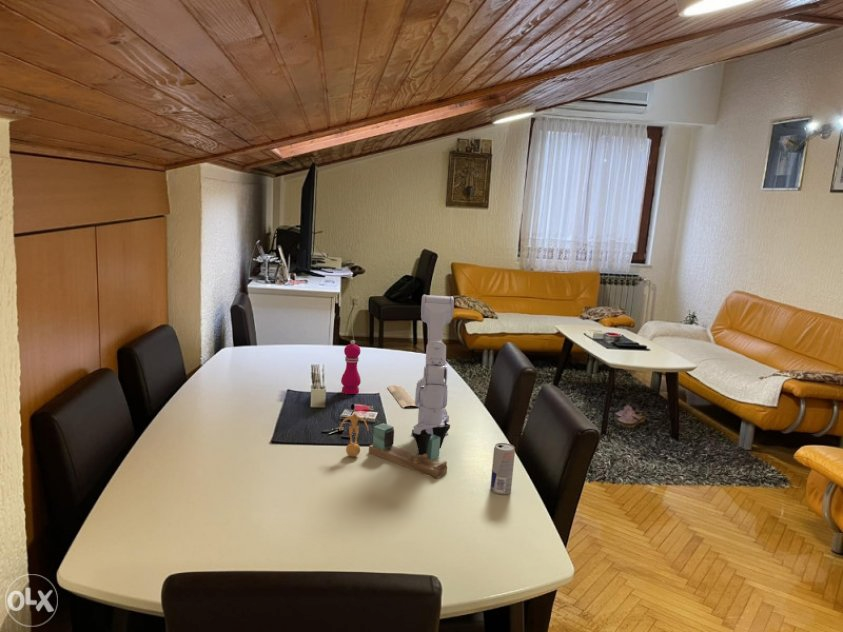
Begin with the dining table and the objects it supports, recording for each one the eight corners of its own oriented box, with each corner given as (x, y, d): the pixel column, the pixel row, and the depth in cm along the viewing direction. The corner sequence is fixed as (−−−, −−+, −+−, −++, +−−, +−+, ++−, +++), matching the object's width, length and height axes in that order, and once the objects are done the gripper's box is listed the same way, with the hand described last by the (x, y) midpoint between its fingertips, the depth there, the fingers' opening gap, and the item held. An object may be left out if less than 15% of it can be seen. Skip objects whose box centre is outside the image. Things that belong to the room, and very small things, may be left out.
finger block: (426, 452, 185) (427, 432, 184) (438, 456, 182) (440, 437, 181) (417, 455, 182) (419, 436, 181) (430, 460, 179) (432, 440, 178)
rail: (380, 447, 186) (381, 421, 184) (446, 472, 172) (448, 445, 170) (368, 452, 182) (370, 426, 180) (436, 478, 168) (438, 450, 166)
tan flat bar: (418, 410, 223) (419, 405, 223) (399, 410, 221) (399, 405, 221) (402, 389, 245) (402, 385, 245) (384, 389, 243) (384, 385, 243)
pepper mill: (358, 396, 232) (361, 343, 228) (339, 394, 232) (341, 341, 228) (361, 390, 239) (363, 338, 235) (342, 388, 239) (344, 337, 235)
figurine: (337, 458, 176) (339, 418, 174) (338, 450, 182) (340, 410, 180) (367, 459, 177) (369, 418, 175) (367, 450, 183) (369, 411, 181)
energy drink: (497, 483, 167) (501, 440, 165) (514, 490, 164) (519, 447, 162) (486, 490, 163) (490, 446, 161) (503, 497, 160) (508, 452, 158)
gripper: (429, 415, 171) (425, 462, 173) (458, 403, 182) (455, 448, 185) (408, 409, 175) (405, 455, 178) (439, 398, 187) (435, 441, 189)
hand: (429, 451), depth 182 cm, fingers open, 7 cm apart
